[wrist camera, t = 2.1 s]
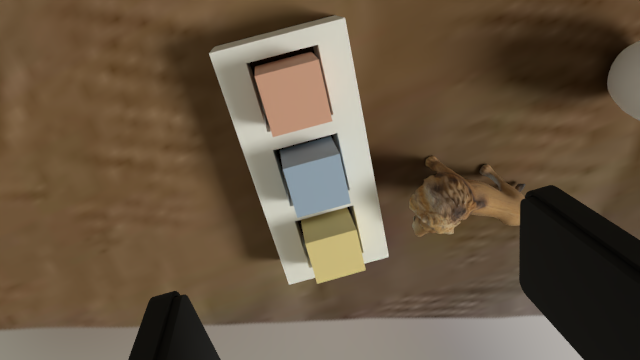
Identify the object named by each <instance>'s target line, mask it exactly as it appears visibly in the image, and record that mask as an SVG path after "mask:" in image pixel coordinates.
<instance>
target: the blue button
mask: <svg viewBox="0 0 640 360" xmlns="http://www.w3.org/2000/svg"><path fill="white" fill-rule="evenodd" d="M280 154H281V161H282V168H283V172H284V175H285V179H286V182H287V185H288V189H289V192H290V195H291V198H292V202H293V205H294V208H295V212H296V215H297V218H299V217H303V216H306V215H310V214H314V213H317V212H321V211H324V210H328V209H332V208H335V207H339V206H343V205H346V204H350V203H351V202H350V198H349V193H348V189H347V184H346V180H345V175H344V171H343V166H342V162H341V157H340V153H339V151H338V149H337V147H336V146H335V144H334V142H333V140H332V138H331V136H330V137H326V138H322V139H319V140H315V141H311V142H308V143H304V144H300V145H297V146H293V147H289V148H285V149H282V150H280Z"/></svg>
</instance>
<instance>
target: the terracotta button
mask: <svg viewBox="0 0 640 360" xmlns="http://www.w3.org/2000/svg"><path fill="white" fill-rule="evenodd" d="M255 79H256V83H257V86H258V89H259V93H260V96H261V99H262V103H263V106H264V109H265V113H266V116H267V119H268V122H269V126H270V129H271V132H272V136H273V137H276V136H279V135H283V134H287V133H290V132H294V131H298V130H302V129H305V128H309V127H313V126H317V125H320V124H324V123H328V122H331V121H332V117H331V112H330V108H329V103H328V99H327V94H326V90H325V85H324V81H323V76H322V72H321V67H320V63H319V59H318V58H317V57H316V56H315V55H314V54H313V53H312V52H308V53H304V54H300V55H296V56H292V57H289V58H285V59H281V60H277V61H273V62H270V63H266V64H262V65H258V66H255Z"/></svg>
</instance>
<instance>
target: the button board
mask: <svg viewBox="0 0 640 360" xmlns="http://www.w3.org/2000/svg"><path fill="white" fill-rule="evenodd" d="M311 46H313V49H314V53H315V56H316V57H317V58H318V59H319V63H320V67H321V72H322V76H323V81H324V85H325V90H326V94H327V99H328V103H329V108H330V112H331V117H332V121H331V122H328V123H324V124H320V125H317V126H313V127H309V128H305V129H302V130H298V131H294V132H290V133H287V134H283V135H279V136H276V137H273V136H272V132H271V129H270V126H269V122H268V119H267V118H266V115H265V112H264V109H263V106H262V102H261V99H260V96H259V92H258V89H257V86H256V82H255V79H254V76H253V73H252V69H251V66H250V62H254V61H257V60H261V59H265V58H269V57H273V56H277V55H280V54H284V53H288V52H292V51H296V50H299V49H303V48H307V47H311ZM209 55H210V58H211V61H212V64H213V67H214V70H215V72H216V75H217V78H218V81H219V84H220V87H221V90H222V93H223V96H224V98H225V101H226V104H227V107H228V110H229V113H230V116H231V119H232V121H233V124H234V127H235V130H236V133H237V136H238V139H239V142H240V145H241V147H242V150H243V153H244V156H245V159H246V162H247V165H248V168H249V170H250V173H251V176H252V179H253V182H254V185H255V188H256V191H257V194H258V196H259V199H260V202H261V205H262V208H263V211H264V214H265V217H266V219H267V222H268V225H269V228H270V231H271V234H272V237H273V240H274V243H275V245H276V248H277V251H278V254H279V257H280V260H281V263H282V266H283V268H284V271H285V274H286V277H287V280H288V283H289V285H290V284H294V283H297V282H301V281H305V280H308V279H312V278H315V274H314V271H313V268H312V265H311V261H310V258H309V255H308V251H307V248H306V245H305V244H304V241H303V237H302V234H301V231H300V227H299V224H298V220H302V219H306V218H309V217H313V216H317V215H320V214H324V213H327V212H331V211H335V210H338V209H342V208H346V207H349V208H350V213H351V217H352V220H353V222H354V225H355V227H356V229H357V233H358V238H359V242H360V247H361V251H362V256H363V260H364V264H365V263H369V262H372V261H376V260H379V259H383V258H387V257H389V255H388V249H387V244H386V239H385V233H384V228H383V222H382V217H381V211H380V206H379V200H378V195H377V190H376V184H375V179H374V173H373V168H372V162H371V157H370V151H369V146H368V141H367V135H366V130H365V124H364V119H363V113H362V108H361V102H360V97H359V92H358V86H357V81H356V75H355V70H354V64H353V59H352V53H351V48H350V43H349V37H348V32H347V26H346V21H345V18H343V17H340V16H336V15H334V16H330V17H326V18H322V19H319V20H315V21H311V22H307V23H303V24H299V25H296V26H292V27H288V28H284V29H280V30H276V31H273V32H269V33H265V34H261V35H257V36H253V37H249V38H246V39H242V40H238V41H234V42H230V43H226V44H223V45H219V46H215V47H214V48H213V49H212V50H211V51H210V53H209ZM332 134H333V138H334V142H335V146H336V147H337V149H338V151H339V153H340V157H341V162H342V166H343V171H344V175H345V180H346V184H347V189H348V193H349V198H350V202H351V203H350V204H346V205H343V206H339V207H335V208H332V209H328V210H324V211H321V212H317V213H314V214H310V215H306V216H303V217H299V218H297V215H296V212H295V208H294V205H293V202H292V198H291V195H290V192H289V189H288V186H287V185H286V181H285V178H284V175H283V171H282V168H281V165H280V162H279V158H278V155H277V152H276V149H280V148H284V147H288V146H291V145H295V144H299V143H302V142H306V141H310V140H314V139H317V138H321V137H325V136H328V135H332Z"/></svg>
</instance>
